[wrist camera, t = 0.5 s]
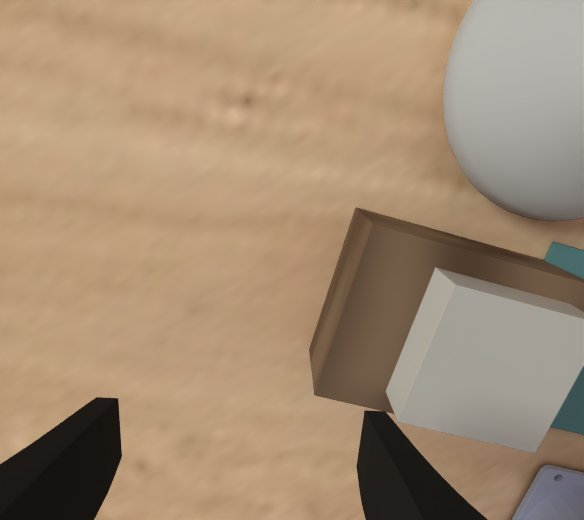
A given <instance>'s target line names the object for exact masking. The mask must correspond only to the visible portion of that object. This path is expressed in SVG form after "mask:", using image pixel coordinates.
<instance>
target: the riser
mask: <svg viewBox="0 0 584 520" xmlns="http://www.w3.org/2000/svg"><path fill="white" fill-rule="evenodd" d="M435 267H436V268H440V269H443V270H447V271H451V272H454V273H458V274H462V275H466V276H469V277H473V278H477V279H480V280H484V281H488V282H491V283H495V284H499V285H502V286H506V287H510V288H514V289H517V290H521V291H525V292H528V293H532V294H536V295H539V296H543V297H547V298H551V299H554V300H558V301H562V302H565V303H569V304H571V305H573V306H574V307H576V308H578V309H580V310H581V311H583V312H584V279H583V278H580V277H578V276H576V275H574V274H572V273H570V272H568V271H566V270H563V269H561V268H559V267H557V266H555V265H553V264H551V263H549V262H546V261H544V260H542V259H538V258H535V257H531V256H528V255H524V254H520V253H517V252H513V251H510V250H506V249H503V248H499V247H495V246H492V245H488V244H485V243H481V242H478V241H474V240H470V239H467V238H463V237H460V236H456V235H453V234H449V233H445V232H442V231H438V230H435V229H431V228H428V227H424V226H420V225H417V224H413V223H410V222H406V221H403V220H399V219H395V218H392V217H388V216H385V215H381V214H378V213H374V212H371V211H367V210H363V209H360V208H355V211H354V214H353V217H352V220H351V223H350V226H349V229H348V233H347V236H346V239H345V242H344V245H343V248H342V251H341V254H340V257H339V260H338V263H337V266H336V269H335V272H334V275H333V278H332V282H331V285H330V288H329V291H328V294H327V297H326V300H325V303H324V306H323V309H322V312H321V315H320V318H319V321H318V324H317V327H316V331H315V334H314V337H313V340H312V343H311V346H310V349H309V352H310V361H311V369H312V378H313V387H314V395H316V396H320V397H324V398H329V399H333V400H337V401H342V402H346V403H350V404H355V405H359V406H363V407H368V408H372V409H376V410H381V411H385V412H389V413H394V411H393V409H392V406H391V404H390V401H389V399H388V396H387V394H386V389H387V387H388V384H389V382H390V379H391V377H392V374H393V372H394V369H395V367H396V364H397V362H398V359H399V357H400V354H401V352H402V349H403V347H404V344H405V342H406V339H407V337H408V334H409V332H410V329H411V327H412V324H413V322H414V320H415V317H416V315H417V312H418V310H419V307H420V305H421V302H422V300H423V297H424V295H425V292H426V290H427V287H428V285H429V282H430V280H431V277H432V275H433V272H434V270H435Z"/></svg>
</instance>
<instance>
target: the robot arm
mask: <svg viewBox="0 0 584 520" xmlns="http://www.w3.org/2000/svg"><path fill="white" fill-rule="evenodd" d="M121 457H122V452H121V436H120V421H119V406H118V398H99V397H97V398H95V399H94V400H92V401H91V402H89V403H88V404H86V405H85V406H84V407H82V408H81V409H79V410H78V411H77V412H75V413H74V414H73V415H71V416H70V417H68V418H67V419H66V420H64V421H63V422H62V423H60V424H59V425H57V426H56V427H55V428H53V429H52V430H50V431H49V432H47V433H46V434H45V435H43V436H42V437H40V438H39V439H38V440H36V441H35V442H33V443H32V444H30V445H29V446H27V447H26V448H24V449H23V450H21V451H20V452H18V453H17V454H15V455H14V456H12V457H11V458H9V459H8V460H6V461H5V462H3V463H1V464H0V520H94V518H95V517H96V515H97V513H98V511H99V509H100V507H101V505H102V503H103V501H104V499H105V497H106V495H107V493H108V491H109V489H110V486H111V484H112V481H113V479H114V476H115V473H116V471H117V468H118V465H119V463H120V460H121ZM357 473H358V480H359V488H360V495H361V501H362V506H363V510H364V514H365V518H366V520H487V519H486V518H485V517H484V516H483V515H482V514H480V513H479V512H478V511H477V510H476V509H475V508H474V507H473V506H471V505H470V504H469V503H468V502H467V501H466V500H465V499H464V498H463V497H462V496H461V495H460V494H459V493H457V492H456V491H455V489H454V488H453V487H452V486H451V485H450V484H449V483H448V482H447V481H446V480H445V479H444V478H443V477H442V476H441V475H440V474H439V473H438V472H437V471H436V470H435V469H434V468H433V467H432V466H431V465H430V464H429V462H428V461H427V460H426V459H425V458H424V457H423V456H422V455H421V453H420V452H419V451H418V450H417V449H416V448H415V447H414V445H413V444H412V443H411V442H410V441H409V439H408V438H407V437H406V436H405V435H404V433H403V432H402V431H401V430H400V429H399V427H398V426H397V425H396V424H395V423H394V421H393V420H392V419H391V418H390V417H389V415H388V414H387V413H386V412H384V411H365V412H364V419H363V426H362V433H361V440H360V447H359V454H358V461H357ZM511 520H584V472H580V471H575V470H571V469H566V468H562V467H558V466H553V465H545V466H543V467H541V469H540V470H539V472H538V473H537V475H536V477H535V479H534V481H533V482H532V484H531V486H530V488H529V489H528V491H527V493H526V495H525V496H524V498H523V500H522V502H521V504H520V505H519V507H518V509H517V511H516V512H515V514H514V516H513V518H512V519H511Z"/></svg>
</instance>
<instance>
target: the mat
mask: <svg viewBox="0 0 584 520" xmlns="http://www.w3.org/2000/svg"><path fill="white" fill-rule="evenodd" d="M544 261H546V262H549V263H551V264H553V265H555V266H557V267H559V268H561V269H563V270H566V271H568V272H570V273H572V274H574V275H576V276H578V277H580V278H583V279H584V250H580V249H577V248H573V247H570V246H566V245H563V244H559V243H556V242H553V243H552V245H551V247H550V249H549V251H548V254H547V256H546V258H545V260H544ZM550 427H553V428H557V429H562V430H566V431H570V432H574V433H578V434H583V435H584V366H583V368H582V370H581V371H580V373H579V375H578V377H577V379H576V380H575V382H574V384H573V386H572V388H571V390H570V391H569V393H568V395H567V397H566V399H565V400H564V402H563V404H562V406H561V408H560V409H559V411H558V413H557V415H556V417H555V418H554V420H553V422H552V424H551V426H550Z"/></svg>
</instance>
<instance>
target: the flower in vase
mask: <svg viewBox="0 0 584 520" xmlns="http://www.w3.org/2000/svg"><path fill="white" fill-rule="evenodd" d="M443 108H444V121H445V126H446V131H447V136H448V139H449V142H450V145H451V148H452V151H453V154H454V156H455V158H456V160H457V162H458V164H459V166H460V168H461V169H462V171H463V172H464V174H465V175H466V177H467V178H468V179H469V181H470V182H471V183H472V184H473V185H474V186H475V187H476V188H477V190H478V191H479V192H480V193H481V194H483V195H484V196H485V197H486V198H488V199H489V200H490V201H492V202H493V203H494V204H496V205H498V206H500V207H502V208H503V209H505V210H507V211H509V212H512V213H515V214H517V215H520V216H523V217H528V218H532V219H537V220H548V221H561V220H573V219H579V218H584V0H474V1H473V2H472V4H471V6H470V8H469V9H468V11H467V13H466V15H465V17H464V18H463V20H462V22H461V25H460V27H459V29H458V32H457V34H456V36H455V39H454V41H453V45H452V48H451V51H450V55H449V58H448V62H447V68H446V73H445V79H444V93H443Z"/></svg>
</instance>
